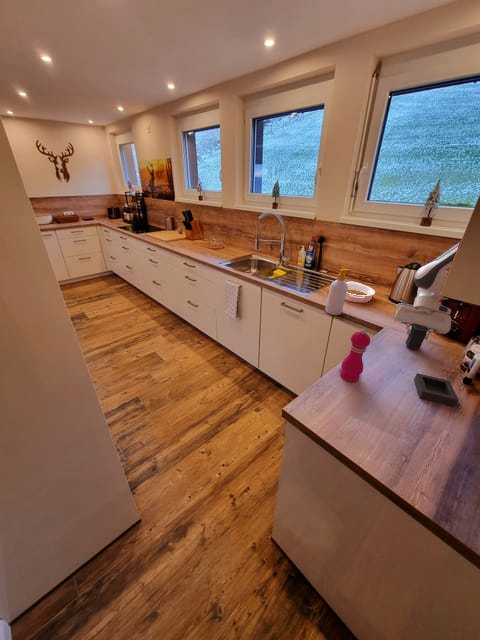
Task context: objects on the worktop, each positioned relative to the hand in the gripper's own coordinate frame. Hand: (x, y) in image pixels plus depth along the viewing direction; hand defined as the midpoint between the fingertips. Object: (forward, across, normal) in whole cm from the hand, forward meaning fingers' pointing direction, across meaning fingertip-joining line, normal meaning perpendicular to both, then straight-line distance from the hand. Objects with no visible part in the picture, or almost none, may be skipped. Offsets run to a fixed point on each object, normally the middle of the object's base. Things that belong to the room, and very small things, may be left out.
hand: (416, 336), depth 111 cm
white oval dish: (-29, -33, +37) cm, 57 cm away
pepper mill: (+29, -19, -21) cm, 41 cm away
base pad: (+24, +7, -15) cm, 29 cm away
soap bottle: (-7, -38, +16) cm, 41 cm away
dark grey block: (+3, 0, +4) cm, 5 cm away
